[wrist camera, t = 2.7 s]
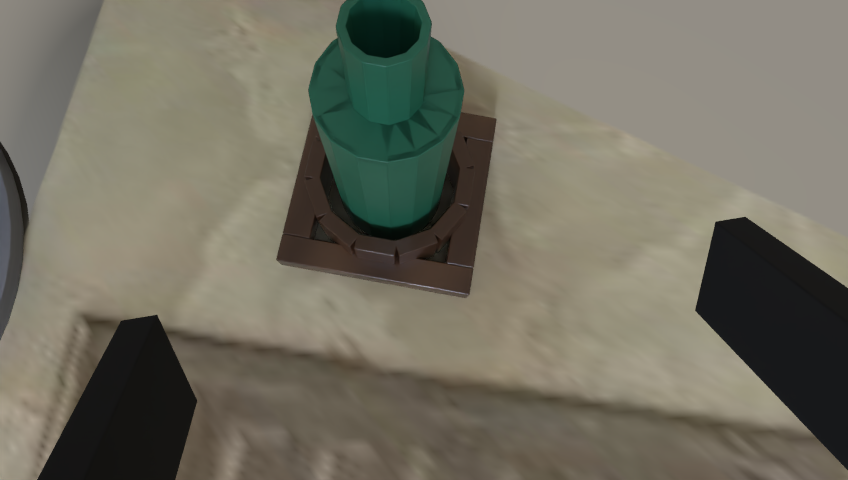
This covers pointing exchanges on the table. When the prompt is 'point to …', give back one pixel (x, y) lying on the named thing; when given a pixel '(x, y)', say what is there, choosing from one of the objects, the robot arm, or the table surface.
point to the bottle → (387, 114)
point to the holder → (386, 256)
